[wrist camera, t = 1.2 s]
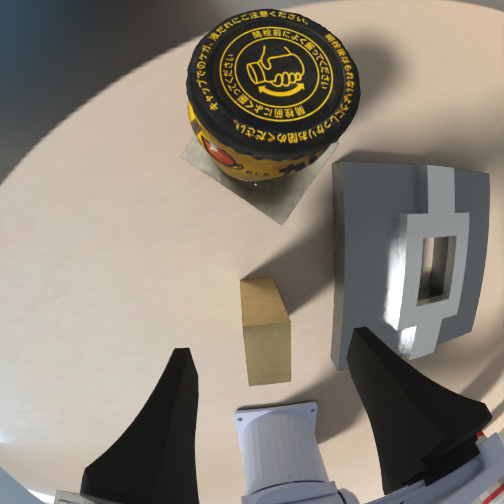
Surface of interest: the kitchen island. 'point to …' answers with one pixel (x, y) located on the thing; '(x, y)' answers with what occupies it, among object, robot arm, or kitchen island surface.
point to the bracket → (410, 260)
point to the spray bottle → (500, 493)
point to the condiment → (268, 105)
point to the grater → (70, 498)
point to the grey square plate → (396, 250)
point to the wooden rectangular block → (265, 332)
